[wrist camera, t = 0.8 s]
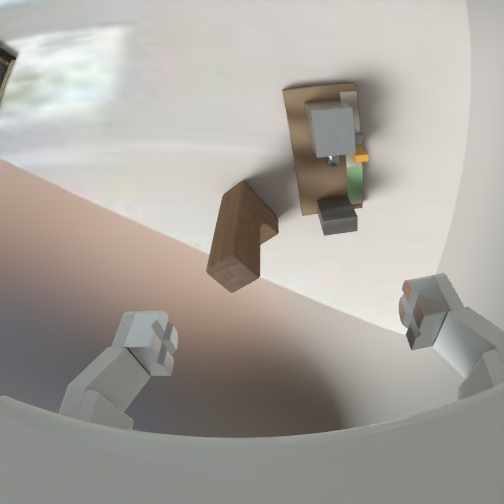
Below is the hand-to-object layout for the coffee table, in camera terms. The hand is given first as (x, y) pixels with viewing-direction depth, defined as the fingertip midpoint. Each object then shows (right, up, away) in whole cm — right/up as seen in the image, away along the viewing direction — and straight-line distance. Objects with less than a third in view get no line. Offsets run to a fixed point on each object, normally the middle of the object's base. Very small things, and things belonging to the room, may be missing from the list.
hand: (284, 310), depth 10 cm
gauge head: (+10, +19, +28) cm, 36 cm away
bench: (+10, +17, +32) cm, 37 cm away
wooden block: (-1, +9, +39) cm, 40 cm away
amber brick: (+14, +17, +30) cm, 37 cm away
